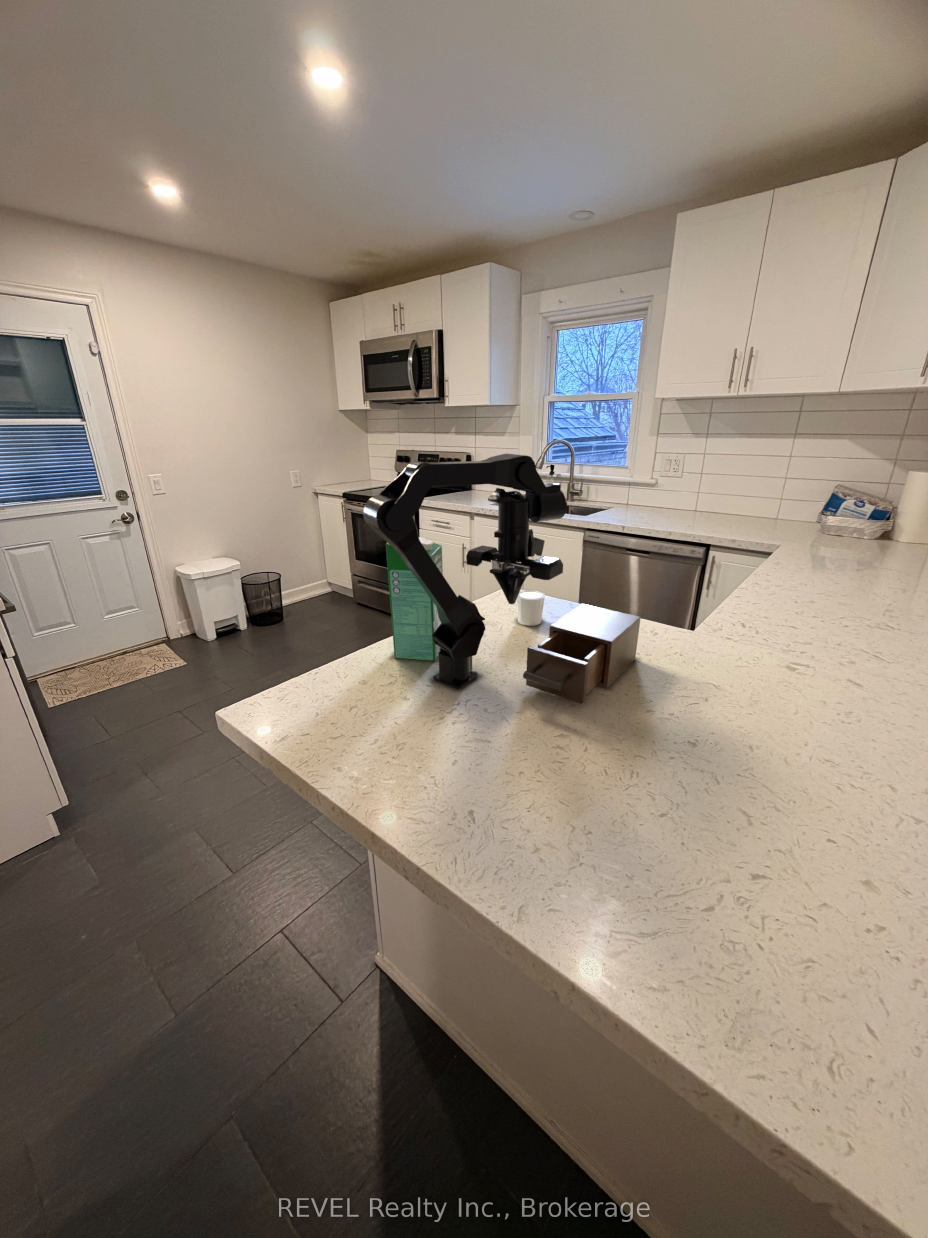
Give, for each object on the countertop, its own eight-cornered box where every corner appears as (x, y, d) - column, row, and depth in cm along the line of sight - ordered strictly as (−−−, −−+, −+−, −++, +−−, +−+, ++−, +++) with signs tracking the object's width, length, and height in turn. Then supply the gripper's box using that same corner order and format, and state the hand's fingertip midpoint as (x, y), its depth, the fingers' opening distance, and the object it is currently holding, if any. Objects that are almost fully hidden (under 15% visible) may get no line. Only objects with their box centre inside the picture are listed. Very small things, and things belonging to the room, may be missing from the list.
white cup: (542, 616, 125) (544, 590, 123) (544, 627, 119) (545, 599, 116) (515, 615, 126) (516, 589, 123) (515, 626, 120) (516, 599, 117)
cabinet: (606, 688, 92) (612, 641, 89) (547, 669, 100) (549, 625, 96) (635, 659, 103) (640, 616, 99) (579, 643, 110) (582, 603, 106)
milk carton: (435, 661, 104) (430, 544, 94) (394, 657, 105) (385, 542, 96) (445, 643, 112) (441, 533, 102) (407, 640, 113) (399, 532, 104)
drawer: (569, 718, 82) (572, 676, 79) (511, 696, 89) (512, 657, 86) (613, 674, 95) (617, 637, 92) (560, 658, 102) (562, 623, 99)
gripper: (579, 523, 92) (573, 601, 98) (496, 513, 103) (496, 584, 109) (550, 534, 84) (545, 619, 90) (463, 522, 95) (465, 598, 101)
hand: (512, 603), depth 98 cm, fingers closed
